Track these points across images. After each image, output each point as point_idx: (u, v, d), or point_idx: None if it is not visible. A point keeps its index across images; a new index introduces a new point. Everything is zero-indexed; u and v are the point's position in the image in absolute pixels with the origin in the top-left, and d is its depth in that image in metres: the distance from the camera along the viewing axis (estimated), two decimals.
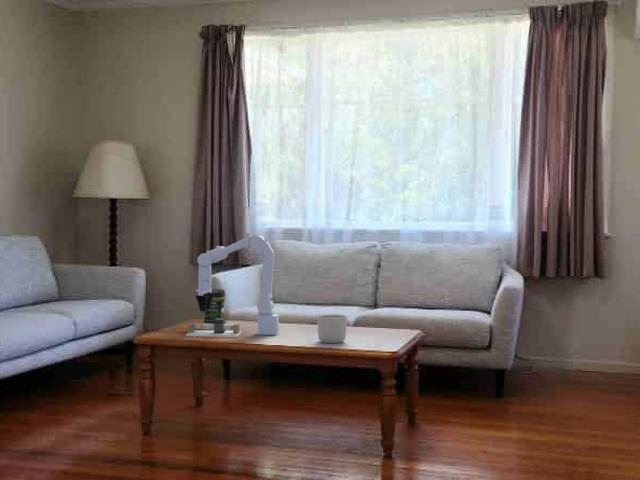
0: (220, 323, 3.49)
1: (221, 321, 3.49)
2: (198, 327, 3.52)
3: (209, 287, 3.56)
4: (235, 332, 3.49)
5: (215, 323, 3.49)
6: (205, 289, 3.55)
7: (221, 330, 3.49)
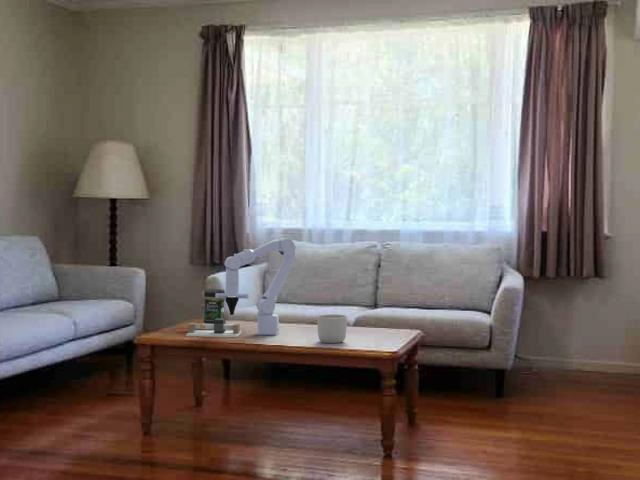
0: (220, 323, 3.49)
1: (221, 321, 3.49)
2: (198, 327, 3.52)
3: (228, 291, 3.49)
4: (235, 332, 3.49)
5: (215, 323, 3.49)
6: None
7: (221, 330, 3.49)
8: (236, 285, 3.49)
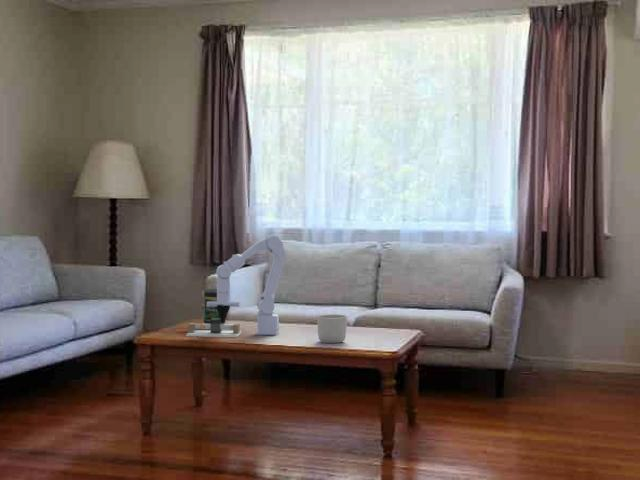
0: (217, 323, 3.49)
1: (218, 321, 3.49)
2: (198, 327, 3.52)
3: (219, 299, 3.49)
4: (235, 332, 3.49)
5: (212, 323, 3.50)
6: (217, 301, 3.51)
7: (218, 330, 3.49)
8: (227, 293, 3.50)
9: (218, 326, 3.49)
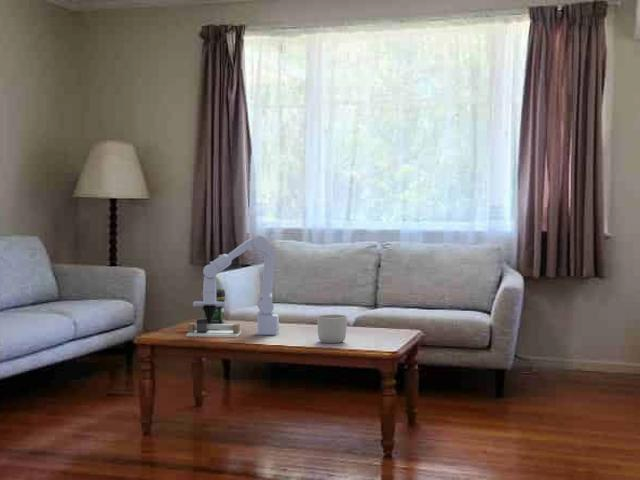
0: (203, 323, 3.50)
1: (204, 321, 3.50)
2: None
3: (205, 299, 3.50)
4: (235, 332, 3.49)
5: (198, 323, 3.50)
6: (203, 301, 3.51)
7: (204, 330, 3.50)
8: (213, 293, 3.50)
9: (204, 326, 3.50)
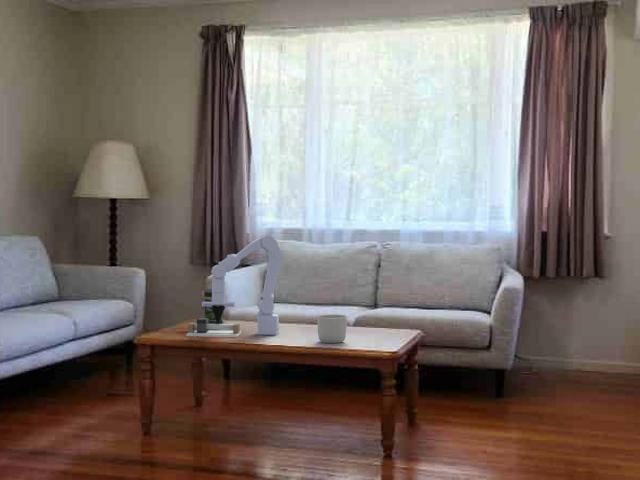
0: (203, 323, 3.50)
1: (204, 321, 3.50)
2: None
3: (214, 299, 3.50)
4: (235, 332, 3.49)
5: (198, 323, 3.50)
6: (212, 301, 3.51)
7: (204, 330, 3.50)
8: (222, 293, 3.50)
9: (204, 326, 3.50)
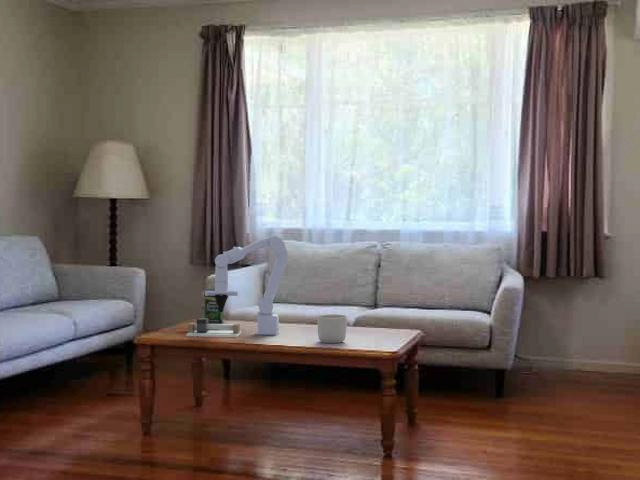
0: (203, 323, 3.50)
1: (204, 321, 3.50)
2: None
3: (217, 288, 3.52)
4: (235, 332, 3.49)
5: (198, 323, 3.50)
6: (215, 290, 3.53)
7: (204, 330, 3.50)
8: (225, 282, 3.52)
9: (204, 326, 3.50)
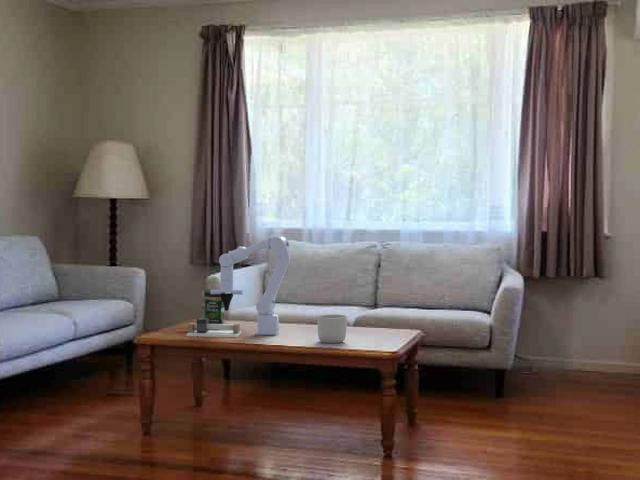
0: (203, 323, 3.50)
1: (204, 321, 3.50)
2: None
3: (222, 287, 3.57)
4: (235, 332, 3.49)
5: (198, 323, 3.50)
6: (220, 289, 3.59)
7: (204, 330, 3.50)
8: (231, 281, 3.58)
9: (204, 326, 3.50)
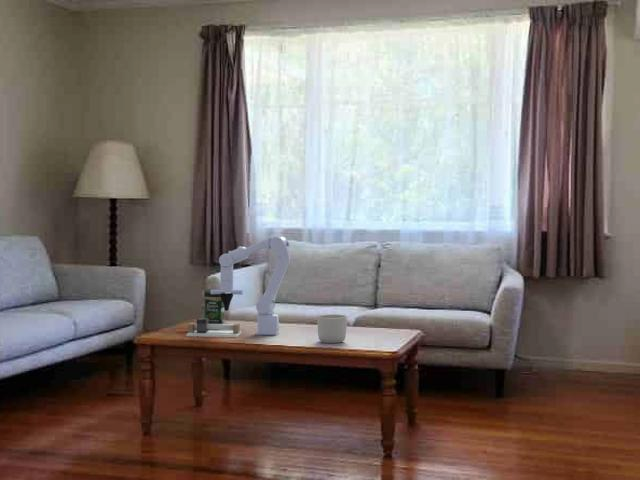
0: (203, 323, 3.50)
1: (204, 321, 3.50)
2: None
3: (222, 287, 3.57)
4: (235, 332, 3.49)
5: (198, 323, 3.50)
6: (220, 289, 3.59)
7: (204, 330, 3.50)
8: (231, 281, 3.58)
9: (204, 326, 3.50)
